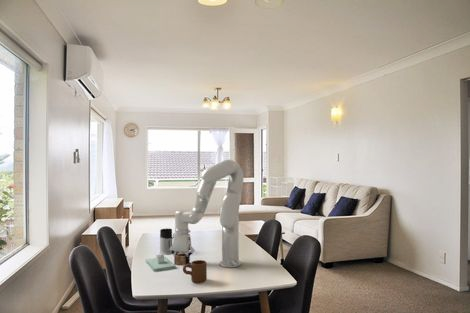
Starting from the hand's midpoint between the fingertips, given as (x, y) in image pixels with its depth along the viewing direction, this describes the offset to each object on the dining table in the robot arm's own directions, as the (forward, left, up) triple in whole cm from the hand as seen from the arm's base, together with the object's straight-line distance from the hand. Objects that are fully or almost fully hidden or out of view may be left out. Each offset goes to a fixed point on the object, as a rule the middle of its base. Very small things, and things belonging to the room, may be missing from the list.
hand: (182, 262), depth 204 cm
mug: (-32, +4, -1) cm, 32 cm away
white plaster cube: (+3, +12, +1) cm, 12 cm away
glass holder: (+25, 0, -1) cm, 25 cm away
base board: (+3, +12, -1) cm, 12 cm away
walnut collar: (0, 0, -1) cm, 1 cm away
